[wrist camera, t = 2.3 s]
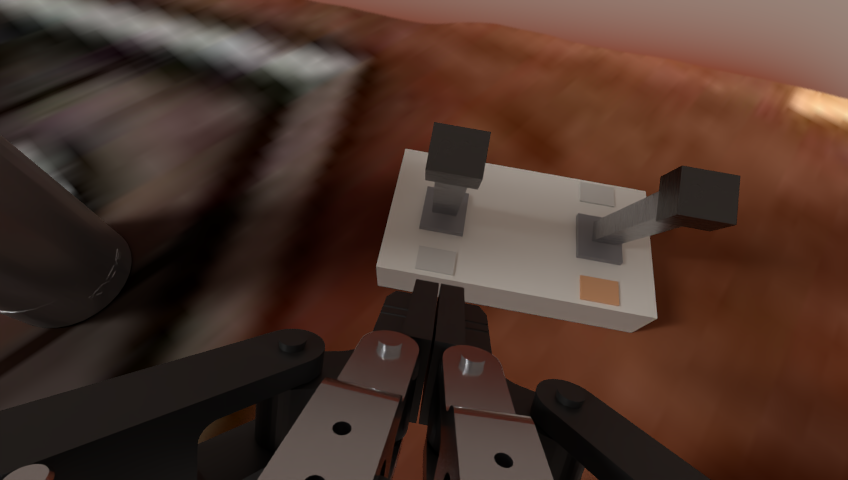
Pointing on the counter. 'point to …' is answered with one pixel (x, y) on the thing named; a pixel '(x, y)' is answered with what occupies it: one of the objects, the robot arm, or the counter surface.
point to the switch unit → (521, 246)
